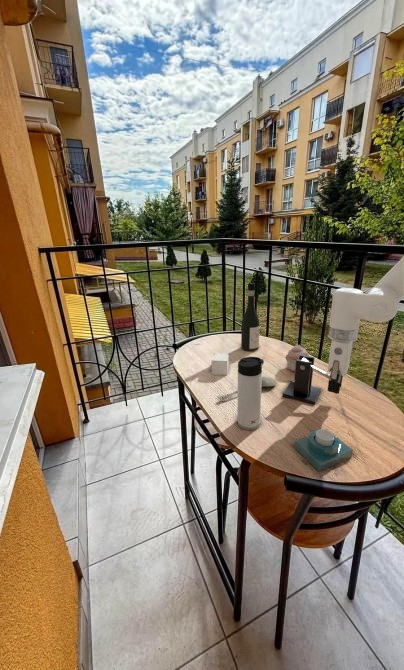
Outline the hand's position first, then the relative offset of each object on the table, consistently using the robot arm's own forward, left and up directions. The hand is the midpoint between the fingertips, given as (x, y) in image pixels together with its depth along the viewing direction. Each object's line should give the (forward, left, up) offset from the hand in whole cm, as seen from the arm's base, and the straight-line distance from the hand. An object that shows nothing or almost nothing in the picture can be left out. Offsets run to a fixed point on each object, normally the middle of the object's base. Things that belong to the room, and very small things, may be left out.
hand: (334, 388), depth 85 cm
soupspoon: (+26, -2, -5) cm, 27 cm away
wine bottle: (+28, -39, -5) cm, 48 cm away
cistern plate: (+7, +23, -5) cm, 24 cm away
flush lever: (+5, -2, +3) cm, 6 cm away
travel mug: (+25, +15, -5) cm, 29 cm away
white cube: (+38, -15, -5) cm, 41 cm away
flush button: (+7, +23, -1) cm, 24 cm away
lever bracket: (+9, -3, -5) cm, 10 cm away
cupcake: (+9, -21, -5) cm, 23 cm away
